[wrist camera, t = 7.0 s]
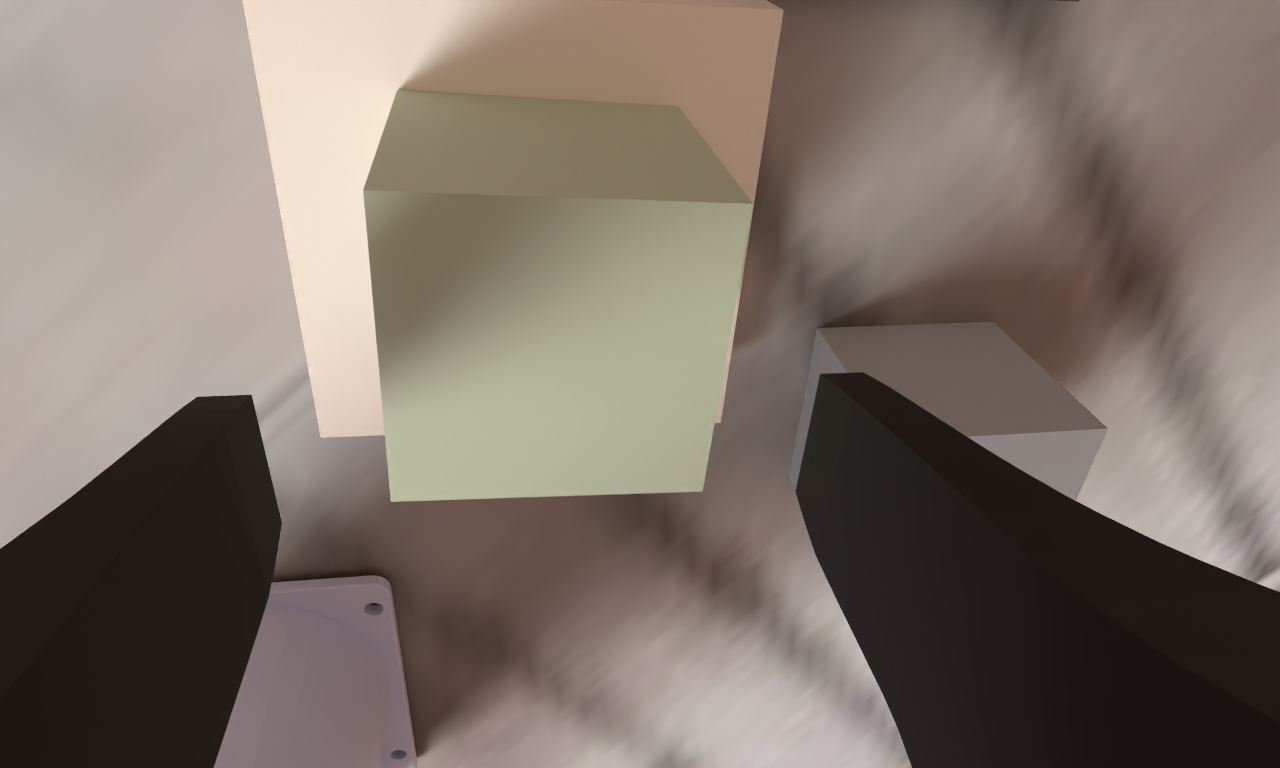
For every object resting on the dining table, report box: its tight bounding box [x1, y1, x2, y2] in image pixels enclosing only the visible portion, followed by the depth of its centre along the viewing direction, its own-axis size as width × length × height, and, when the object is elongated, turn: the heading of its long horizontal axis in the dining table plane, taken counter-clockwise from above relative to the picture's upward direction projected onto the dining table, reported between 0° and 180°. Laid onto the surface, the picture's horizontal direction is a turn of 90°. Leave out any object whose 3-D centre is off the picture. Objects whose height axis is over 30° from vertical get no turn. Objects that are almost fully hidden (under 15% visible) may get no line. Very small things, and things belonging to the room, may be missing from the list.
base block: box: [243, 0, 784, 438], centre depth 17 cm, size 9×9×3 cm
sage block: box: [363, 90, 753, 502], centre depth 14 cm, size 5×5×5 cm
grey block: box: [789, 322, 1108, 501], centre depth 21 cm, size 5×5×5 cm
